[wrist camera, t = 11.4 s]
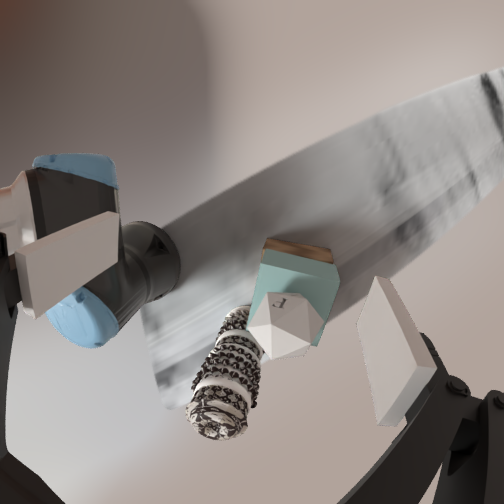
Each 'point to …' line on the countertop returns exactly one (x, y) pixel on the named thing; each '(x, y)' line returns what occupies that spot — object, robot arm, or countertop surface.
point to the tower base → (299, 250)
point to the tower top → (297, 282)
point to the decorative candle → (227, 381)
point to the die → (285, 325)
